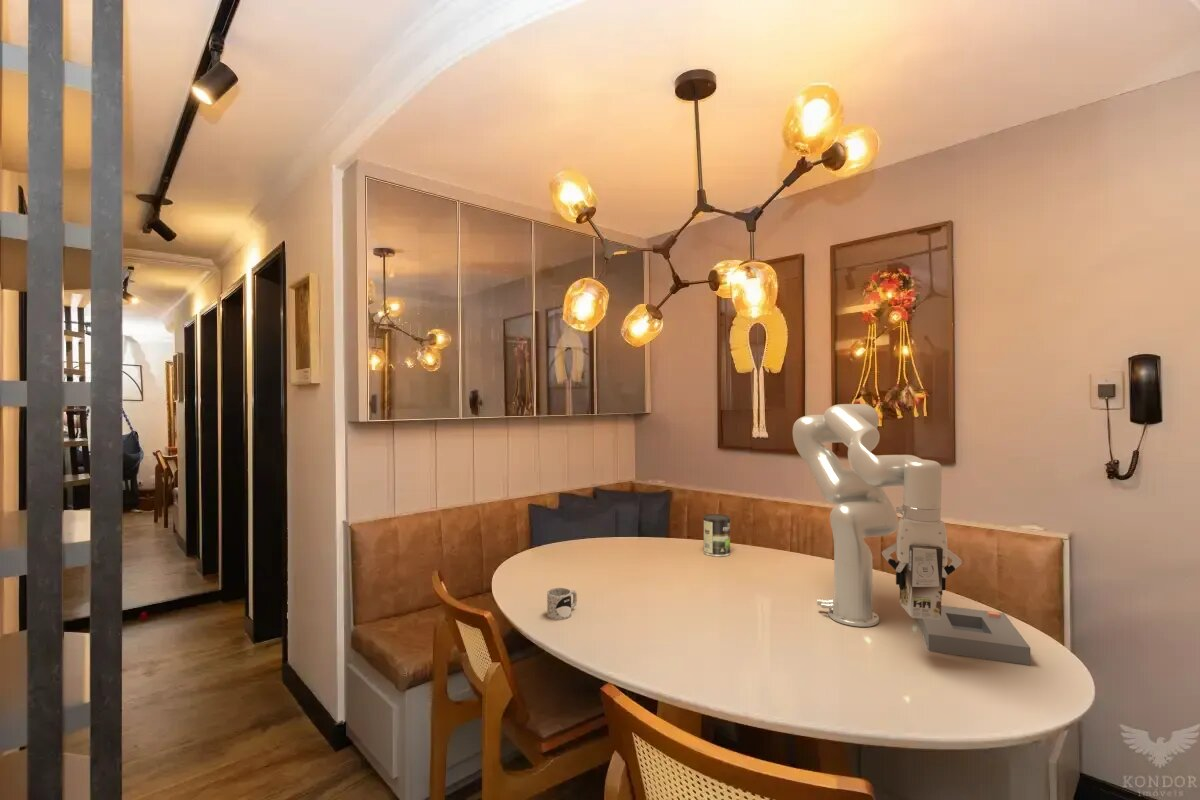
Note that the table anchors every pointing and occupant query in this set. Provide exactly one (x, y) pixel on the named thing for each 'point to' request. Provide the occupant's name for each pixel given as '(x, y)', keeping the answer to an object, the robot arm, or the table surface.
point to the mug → (560, 603)
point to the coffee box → (923, 583)
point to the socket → (975, 635)
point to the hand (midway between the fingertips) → (920, 589)
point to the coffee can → (716, 535)
